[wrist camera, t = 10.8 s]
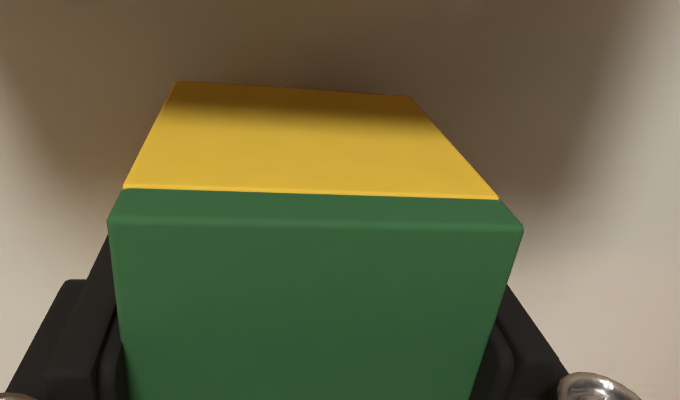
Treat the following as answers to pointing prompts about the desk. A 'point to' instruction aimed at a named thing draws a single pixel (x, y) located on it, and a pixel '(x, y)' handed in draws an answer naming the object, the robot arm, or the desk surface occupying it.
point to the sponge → (304, 250)
